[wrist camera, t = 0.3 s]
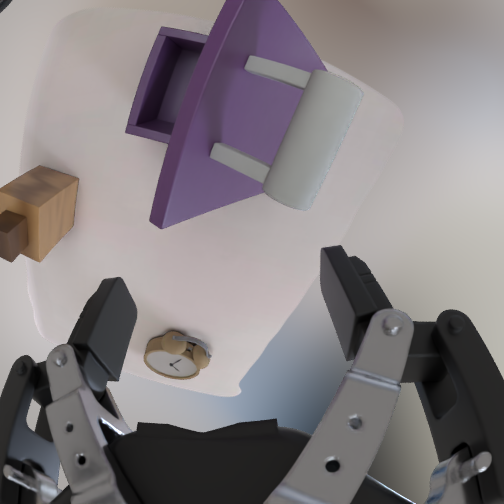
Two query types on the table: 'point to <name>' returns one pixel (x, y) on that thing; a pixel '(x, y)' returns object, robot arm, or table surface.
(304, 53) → the lid
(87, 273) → the table surface
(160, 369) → the alarm clock
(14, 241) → the block
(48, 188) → the stand
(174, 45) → the box
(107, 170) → the table surface
